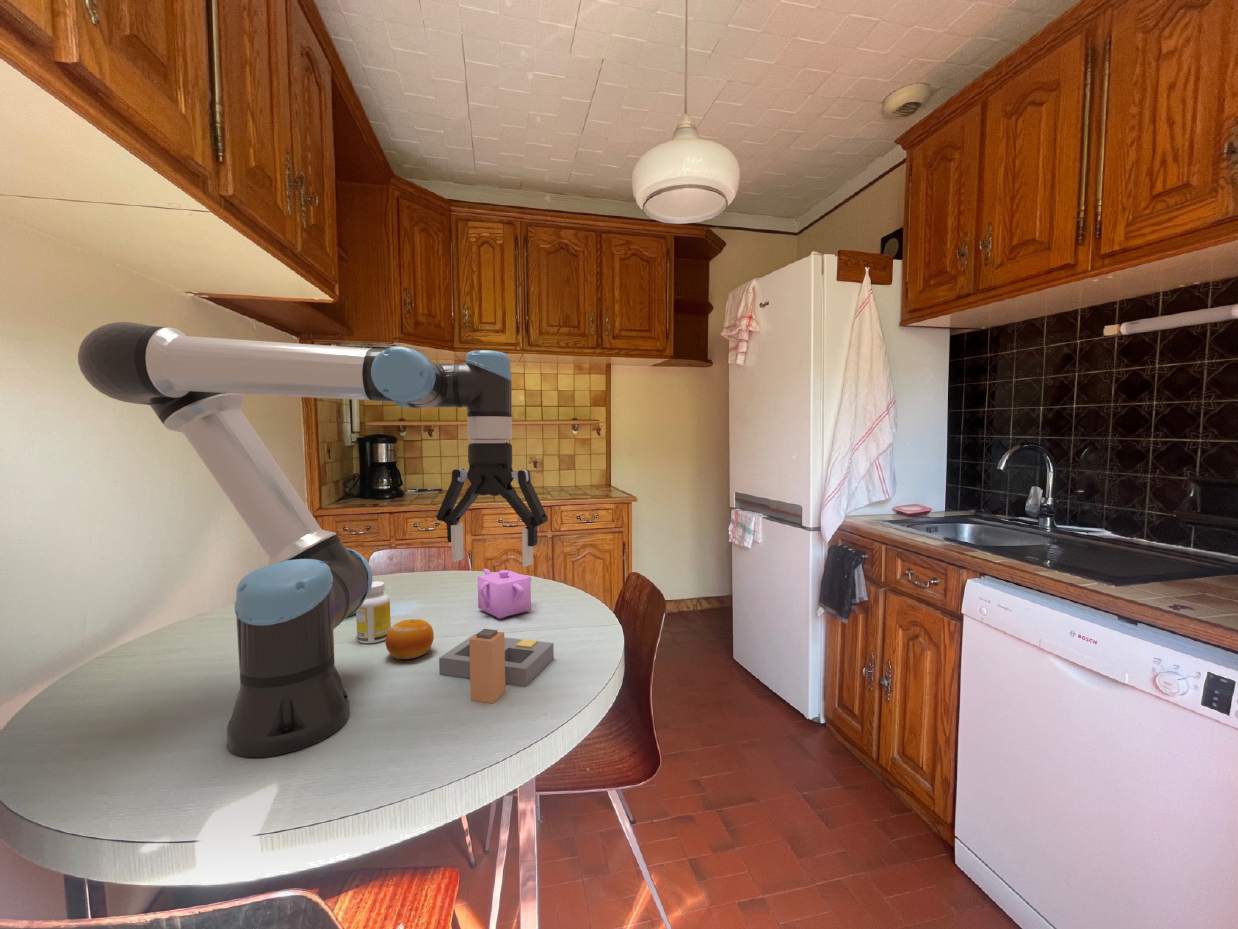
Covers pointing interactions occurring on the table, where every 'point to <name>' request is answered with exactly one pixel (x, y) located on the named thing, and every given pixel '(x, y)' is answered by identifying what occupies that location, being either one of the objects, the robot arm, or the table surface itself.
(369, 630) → the pill bottle
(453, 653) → the socket board
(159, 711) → the table surface
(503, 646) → the plug
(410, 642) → the fruit
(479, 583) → the teapot
